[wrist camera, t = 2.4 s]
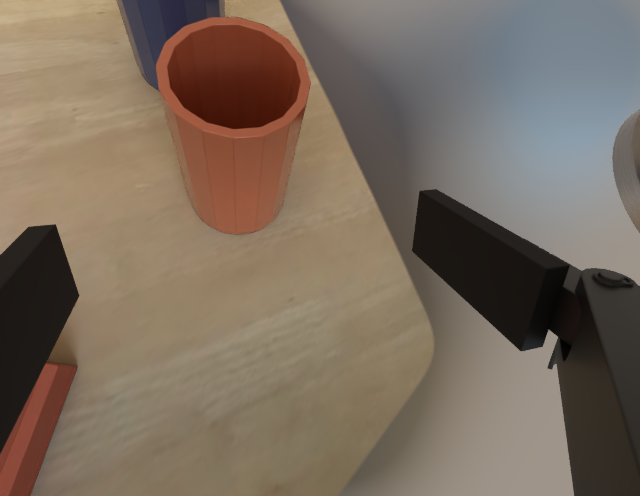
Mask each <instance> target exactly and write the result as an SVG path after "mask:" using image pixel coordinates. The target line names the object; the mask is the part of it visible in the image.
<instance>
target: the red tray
mask: <svg viewBox="0 0 640 496" xmlns="http://www.w3.org/2000/svg"><path fill="white" fill-rule="evenodd" d="M76 370H77V367H76V366H70V365H64V364H58V363H52V362H46V364H45V366H44V368H43V370H42V372H41V374H40V376H39V378H38V380H37V382H36V384H35V386H34V388H33V390H32V392H31V394H30V396H29V398H28V400H27V402H26V404H25V406H24V408H23V410H22V412H21V414H20V416H19V418H18V420H17V422H16V424H15V426H14V428H13V430H12V432H11V434H10V436H9V438H8V440H7V442H6V444H5V446H4V448H3V450H2V452H1V454H0V496H30V494H31V491H32V489H33V486H34V483H35V481H36V478H37V475H38V472H39V470H40V467H41V464H42V462H43V459H44V456H45V453H46V451H47V448H48V445H49V443H50V440H51V437H52V435H53V432H54V429H55V426H56V424H57V421H58V418H59V416H60V413H61V410H62V407H63V405H64V402H65V399H66V397H67V394H68V391H69V388H70V386H71V383H72V380H73V378H74V375H75V372H76Z"/></svg>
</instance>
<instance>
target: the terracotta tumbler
mask: <svg viewBox="0 0 640 496" xmlns="http://www.w3.org/2000/svg"><path fill="white" fill-rule="evenodd" d="M156 72H157V79H158V87H159V92H160V95H161V99H162V103H163V106H164V110H165V113H166V117H167V120H168V124H169V128H170V131H171V135H172V138H173V142H174V146H175V149H176V153H177V156H178V160H179V164H180V167H181V171H182V174H183V178H184V181H185V185H186V189H187V192H188V196H189V199H190V202H191V204H192V206H193V208H194V210H195V212H196V213H197V215H198V216H199V217H200V218H201V219H202V220H203V221H204V222H205V223H206V224H208V225H209V226H211V227H212V228H214V229H216V230H219V231H221V232H225V233H230V234H246V233H251V232H254V231H257V230H260V229H262V228H264V227H265V226H267V225H268V224H269V223H270V222H272V221H273V220H274V218H275V217H276V216H277V215H278V213H279V211H280V209H281V207H282V205H283V201H284V196H285V192H286V188H287V184H288V179H289V175H290V171H291V167H292V162H293V158H294V154H295V150H296V145H297V141H298V137H299V133H300V128H301V124H302V120H303V116H304V111H305V107H306V103H307V98H308V93H309V89H310V79H309V75H308V71H307V68H306V64H305V61H304V59H303V57H302V56H301V55H300V54H299V52H298V51H297V50H296V49H295V47H294V46H293V45H292V44H291V42H290V41H288V39H286V38H285V37H283V36H282V35H280V34H279V33H277V32H276V31H274V30H272V29H271V28H269V27H268V26H265V25H263V24H260V23H256V22H253V21H249V20H246V19H242V18H238V17H211V18H207V19H204V20H201V21H198V22H195V23H192V24H189V25H186V26H185V27H183V28H182V29H180V30H179V31H178V32H177V33H176V34H174V35H173V36H172V37H171V38H170V39H169V40H167V41H166V43H165V44H164V46H163V49H162V51H161V54H160V56H159V59H158V61H157V63H156Z"/></svg>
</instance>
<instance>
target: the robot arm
mask: <svg viewBox="0 0 640 496" xmlns="http://www.w3.org/2000/svg"><path fill="white" fill-rule="evenodd" d="M412 251H413V252H414V253H415V254H416V255H417V256H418V257H419V258H420V259H421V260H422V261H423V262H424V263H426V264H427V265H428V266H429V267H430V268H431V269H432V270H433V271H434V272H435V273H437V275H439V276H440V277H441V278H442V279H443V280H444V281H445V282H446V283H447V284H448V285H449V286H451V287H452V288H453V289H454V290H455V291H456V292H457V293H458V294H459V295H460V296H461V297H463V298H464V299H465V300H466V301H467V302H468V303H469V304H470V305H471V306H472V307H473V308H474V309H476V310H477V311H478V312H479V313H480V314H481V315H482V316H483V317H484V318H485V319H487V320H488V321H489V322H490V323H491V324H492V325H493V326H494V327H495V328H496V329H497V330H498V331H500V332H501V333H502V334H503V335H504V336H505V337H506V338H507V339H508V340H509V341H510V342H511V343H513V344H514V345H515V346H516V347H517V348H518V349H519V350H520V351H525V350H529V349H534V348H538V347H542V346H543V344H544V341H545V338H546V335H547V332H548V329H549V330H551V331H552V332H553V333H554V334H556V335H557V336H558V339H557V342H556V345H555V348H554V351H553V353H552V356H551V359H550V362H549V365H548V368H549V369H552V368H553V365H554V364H557V369H558V377H559V384H560V391H561V399H562V407H563V414H564V422H565V429H566V437H567V444H568V452H569V459H570V467H571V473H572V481H573V489H574V496H640V286H638V285H637V284H636V283H635V282H634V281H633V280H632V279H631V278H628V277H627V276H624V275H622V274H619V273H617V272H614V271H610V270H606V269H597V268H591V269H585V270H583V271H581V270H579V269H577V268H576V267H574V266H572V265H570V264H568V263H567V262H565V261H563V260H561V259H560V258H558V257H556V256H554V255H552V254H550V253H549V252H547V251H545V250H544V249H541V248H539V247H538V246H537V245H535V244H533V243H531V242H529V241H528V240H525V239H523V238H521V237H519V236H518V235H516V234H514V233H512V232H511V231H509V230H507V229H505V228H504V227H502V226H500V225H498V224H497V223H495V222H493V221H491V220H489V219H488V218H486V217H484V216H482V215H481V214H479V213H477V212H475V211H473V210H472V209H470V208H468V207H466V206H465V205H463V204H461V203H459V202H458V201H456V200H454V199H452V198H451V197H449V196H447V195H445V194H444V193H442V192H440V191H438V190H436V189H435V190H424V191H420V192H419V200H418V208H417V216H416V224H415V232H414V240H413V248H412ZM78 297H79V293H78V290H77V287H76V284H75V281H74V278H73V275H72V272H71V269H70V266H69V263H68V260H67V257H66V254H65V251H64V248H63V245H62V242H61V239H60V236H59V233H58V230H57V227H56V224H55V225H44V226H33V227H28V228H27V229H26V230H25V231H24V232H23V233H22V234H21V235H20V236H19V237H18V238H17V239H16V240H15V241H14V242H13V243H12V244H11V245H10V246H9V247H8V248H7V249H6V250H5V251H4V252H3V253H2V254H1V255H0V454H1V452H2V450H3V448H4V446H5V444H6V442H7V440H8V438H9V436H10V434H11V432H12V430H13V428H14V426H15V424H16V422H17V420H18V418H19V416H20V414H21V412H22V410H23V408H24V406H25V404H26V402H27V400H28V398H29V396H30V394H31V392H32V390H33V388H34V386H35V384H36V382H37V380H38V378H39V376H40V374H41V372H42V370H43V368H44V366H45V364H46V361H47V359H48V357H49V355H50V353H51V351H52V349H53V347H54V345H55V343H56V341H57V339H58V337H59V335H60V333H61V331H62V329H63V327H64V325H65V323H66V321H67V319H68V317H69V315H70V313H71V311H72V309H73V307H74V305H75V303H76V301H77V299H78Z"/></svg>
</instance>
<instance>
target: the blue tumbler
mask: <svg viewBox="0 0 640 496" xmlns="http://www.w3.org/2000/svg"><path fill="white" fill-rule="evenodd" d="M116 1H117V4H118V7H119V10H120V13H121V16H122V19H123V22H124V25H125V28H126V32H127V35H128V38H129V41H130V44H131V47H132V50H133V53H134V56H135V59H136V62H137V65H138V67H139V69H140V72H141V74H142V75H143V77H144V78H145V79H146V81H147V82H148V83H149V84H150V85H152V86H153V87H154V88H156V89H158V90H159V87H158V79H157V72H156V63H157V61H158V59H159V56H160V54H161V51H162V49H163V46H164V44H165V43H166V41H167V40H169V39H170V38H171V37H172V36H173V35H174V34H176V33H177V32H178V31H179V30H180V29H182V28H183V27H185V26H186V25H189V24H192V23H195V22H198V21H201V20H204V19H207V18H211V17H225V0H116Z"/></svg>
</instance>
